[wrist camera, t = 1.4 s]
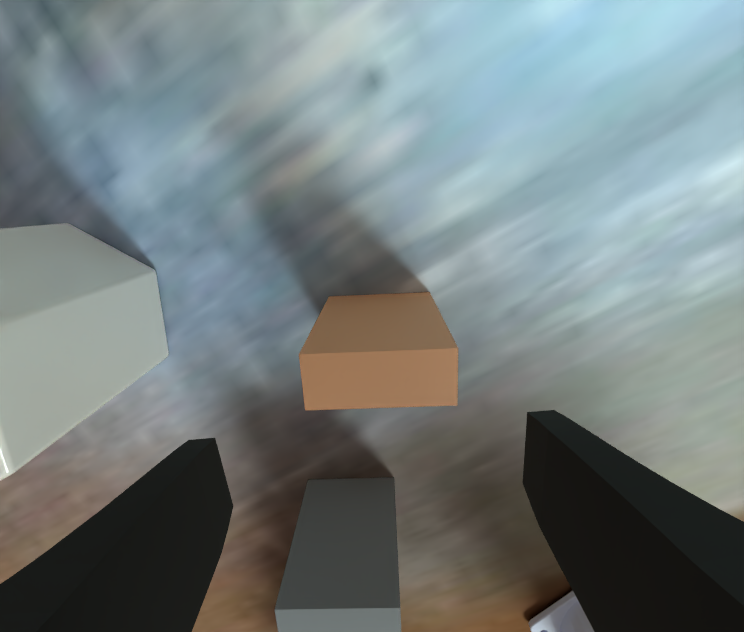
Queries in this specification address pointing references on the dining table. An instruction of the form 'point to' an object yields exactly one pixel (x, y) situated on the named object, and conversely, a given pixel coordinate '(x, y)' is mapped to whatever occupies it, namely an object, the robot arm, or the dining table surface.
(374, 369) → the domino
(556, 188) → the dining table surface
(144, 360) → the jar
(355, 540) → the domino
